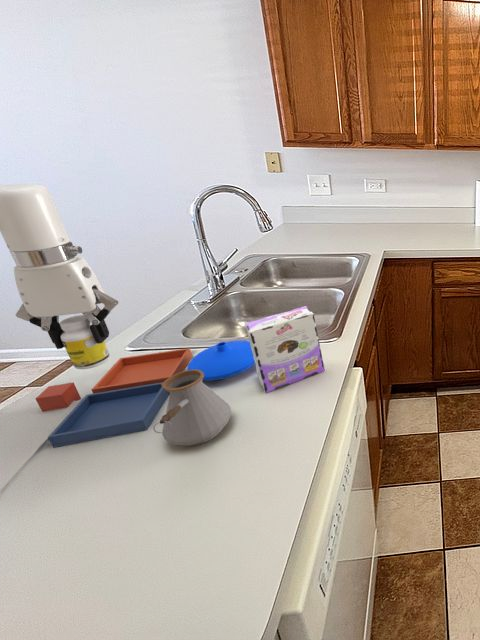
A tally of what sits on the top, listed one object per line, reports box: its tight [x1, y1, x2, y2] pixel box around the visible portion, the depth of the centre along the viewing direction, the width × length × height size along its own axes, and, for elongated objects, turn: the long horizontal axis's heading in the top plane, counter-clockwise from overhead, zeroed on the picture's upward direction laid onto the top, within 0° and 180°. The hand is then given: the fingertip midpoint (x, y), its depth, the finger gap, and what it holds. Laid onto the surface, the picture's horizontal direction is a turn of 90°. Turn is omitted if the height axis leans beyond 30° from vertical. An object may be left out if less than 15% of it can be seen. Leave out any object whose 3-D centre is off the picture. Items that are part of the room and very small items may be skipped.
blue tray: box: [47, 382, 170, 449], centre depth 84 cm, size 15×13×3 cm
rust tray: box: [91, 347, 193, 394], centre depth 97 cm, size 15×13×3 cm
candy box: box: [244, 305, 325, 394], centre depth 94 cm, size 14×6×16 cm, turn 130°
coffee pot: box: [153, 369, 232, 447], centre depth 73 cm, size 21×12×15 cm, turn 25°
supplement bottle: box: [59, 314, 111, 370], centre depth 78 cm, size 5×5×10 cm
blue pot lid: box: [187, 340, 255, 381], centre depth 99 cm, size 16×16×7 cm
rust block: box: [35, 382, 82, 412], centre depth 86 cm, size 4×4×4 cm
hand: (83, 341), depth 78 cm, fingers closed on supplement bottle, 5 cm apart
